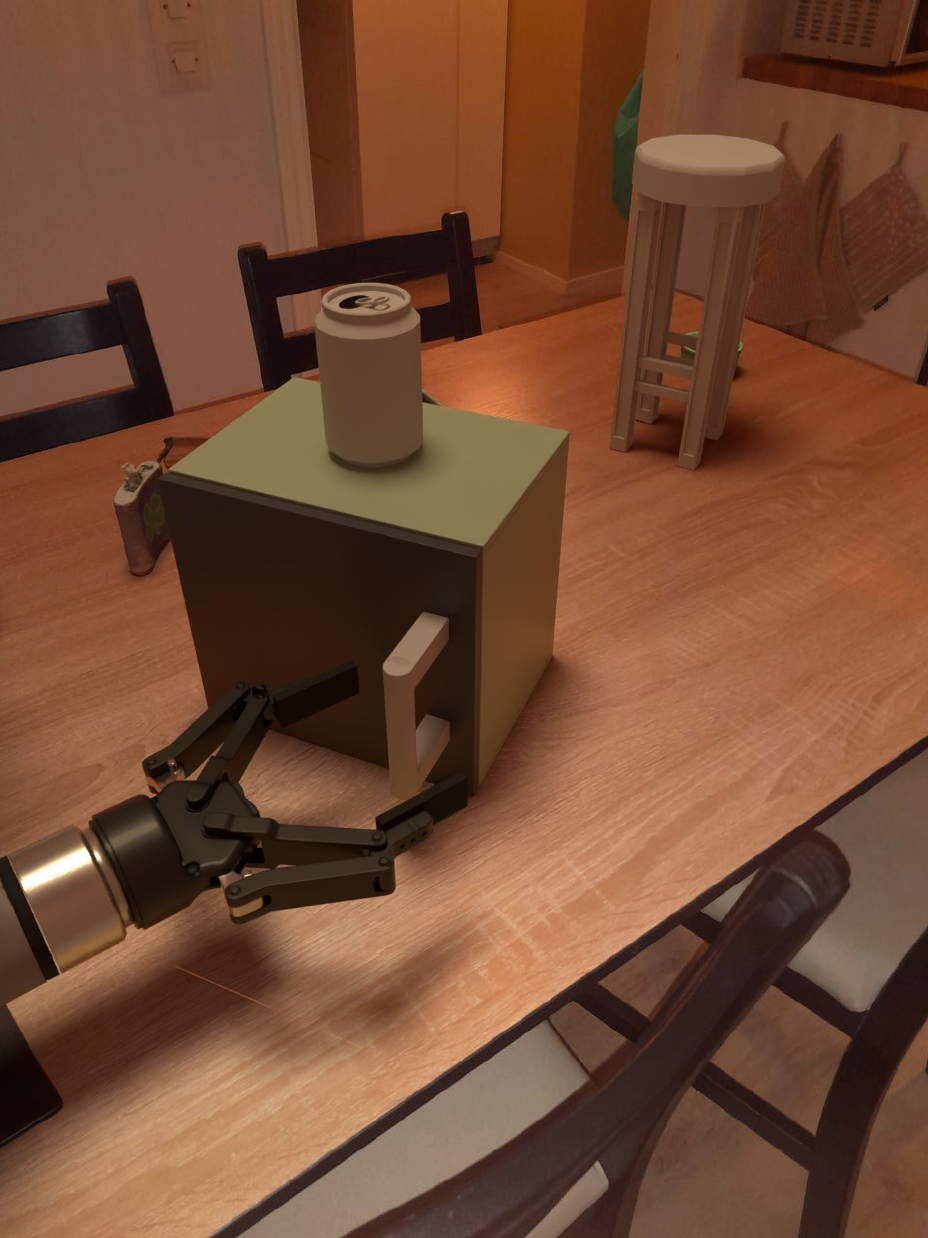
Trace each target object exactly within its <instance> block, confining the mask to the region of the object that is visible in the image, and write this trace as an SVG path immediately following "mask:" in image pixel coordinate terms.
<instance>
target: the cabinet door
mask: <svg viewBox="0 0 928 1238" xmlns="http://www.w3.org/2000/svg"><path fill="white" fill-rule="evenodd" d="M158 483H159V488H160V492H161V497H162V501H163V506H164V510H165V515H166V519H167V524H168V529H169V533H170V538H171V541H170V542H171V546H172V550H173V551H172V552H173V555H174V560H175V565H176V569H177V573H178V578H179V584H180V586H181V591H182V596H183V600H184V605H185V609H186V615H187V618H188V623H189V627H190V632H191V633H190V634H191V636H192V642H193V646H194V651H195V655H196V661H197V664H198V668H199V673H200V677H201V683H202V687H203V692H204V696H205V700H206V701H205V702H206V705H207V709H208V708H209V707H210V706H211V705H212V704H214V703H215V702H216V701H217V700H218V699H219V698H220V697H221V696H222V695H223V694H224V693H225V692H226V691H227V690H228V689H229V688H230V687H231V686H232V685H234V684H235V683H236V682H239V681H245V682H247V683H248V684H249V686H250V689H251V687H252V686H253V685H255V684H257V683H264V684H266V685H267V687H268V692H271V691H273V690H275V689H278V688H280V687H282V686H284V685H287V684H289V683H292V682H293V681H296V680H298V679H303V678H307V680H309V679H311V678H313V677H315V676H318V675H320V674H322V673H324V672H327V671H329V670H331V669H333V668H336V667H338V666H340V665H342V664H345V663H347V662H349V661H351V660H352V661H353V662H354V663H355V664H356V665H357V667H358V678H359V690H360V693H359V694H356V695H354V696H352V697H350V698H348V699H346V700H343V701H341V702H339V703H337V704H335V705H333V706H331V707H328V708H326V709H324V710H322V711H320V712H318V713H315V714H313V715H311V716H309V717H307V718H305V719H303V720H300V721H298V722H296V723H294V724H292V725H290V726H287V727H285V728H283V729H281V727H280V726H279V725H278V724H277V720H276V717H275V718H273V723H272V724H271V726H270V728H269V730H272V731H275V732H278V733H280V734H284V735H287V736H290V737H293V738H296V739H299V740H302V741H305V742H308V743H311V744H314V745H317V746H319V747H323V748H326V749H330V750H332V751H335V752H339V753H340V754H345V755H347V756H350V757H354V758H356V759H360V760H363V761H365V762H368V763H371V764H374V765H377V766H381V767H383V768H387V769H388V770H389V784H390V786H389V787H390V793H391V794H392V796H393V797H395V798H396V799H398V800H408V799H410V798H412V797H414V796H416V795H417V793H418V792H419V790H420V788H421V787H422V785H423V783H424V782H429V783H432V784H434V785H436V784H438V783H440V782H442V781H443V780H445V779H447V778H449V777H451V776H453V775H455V774H456V773H458V772H460V771H461V772H462V773H463V774H464V775H465V776H466V777H467V778H468V796H470V797H474V796H475V795H476V792H477V790H478V789H479V786H478V755H479V695H480V635H481V575H482V550H480V549H476V548H472V547H468V546H463V545H459V544H455V543H451V542H447V541H443V540H439V539H435V538H431V537H427V536H422V535H418V534H414V533H410V532H406V531H402V530H398V529H394V528H390V527H386V526H382V525H377V524H373V523H369V522H365V521H361V520H357V519H353V518H349V517H345V516H341V515H337V514H332V513H328V512H324V511H320V510H316V509H312V508H308V507H304V506H300V505H296V504H292V503H287V502H283V501H279V500H275V499H271V498H267V497H263V496H259V495H255V494H251V493H247V492H242V491H238V490H234V489H230V488H226V487H222V486H218V485H214V484H210V483H206V482H202V481H197V480H193V479H189V478H185V477H181V476H177V475H173V474H169V472H165V473H163V475H162V476H161V477H159V478H158Z"/></svg>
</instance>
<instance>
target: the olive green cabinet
mask: <svg viewBox="0 0 928 1238" xmlns="http://www.w3.org/2000/svg"><path fill="white" fill-rule="evenodd" d="M422 406H423V443H422V444H421V446H420V447H419V448H418V449H417V450H416V451H415V452H413V453H412V454H411V455H410V457H409V458H407V459H406V460H404V461H402V462H400V463H397V464H394V465H392V466H386V467H380V468H367V467H360V466H355V465H352V464H349V463H347V462H345V461H344V460H342V459H341V458H340V457H339V456H337V455H336V454H334V453H333V452H332V451H330V450H329V448H328V446H327V444H326V439H325V429H324V418H323V408H322V398H321V387H320V381H316V380H312V379H307V378H306V379H305V378H301V377H296V376H294V377H292V378H291V379H290V380H288V381H287V382H285V383H284V384H282V385H281V386H280V387H278V388H277V389H275V390H274V391H273V392H271V393H270V394H269V395H267V396H266V397H265V398H263V399H262V400H261V401H259V402H258V403H256V404H255V405H254V406H252V407H251V408H250V409H248V410H247V411H245V412H244V413H243V414H242V415H240V416H239V417H237V418H236V419H234V420H233V421H232V422H230V423H229V424H227V425H226V426H225V427H224V428H222V429H221V430H220V431H218V432H217V433H216V434H214V435H213V436H211V437H212V438H210V439H209V440H207V441H206V442H205V443H203V444H202V445H201V446H199V447H198V448H196V449H195V450H194V451H192V452H191V453H190V454H188V455H187V456H186V457H184V458H183V459H181V460H180V461H179V462H177V463H176V464H175V465H173V466H172V467H170V468H169V469H167V473H169V474H173V475H177V476H181V477H185V478H189V479H193V480H197V481H202V482H206V483H210V484H214V485H218V486H222V487H226V488H230V489H234V490H238V491H242V492H247V493H251V494H255V495H259V496H263V497H267V498H271V499H275V500H279V501H283V502H287V503H292V504H296V505H300V506H304V507H308V508H312V509H316V510H320V511H324V512H328V513H332V514H337V515H341V516H345V517H349V518H353V519H357V520H361V521H365V522H369V523H373V524H377V525H382V526H386V527H390V528H394V529H398V530H402V531H406V532H410V533H414V534H418V535H422V536H427V537H431V538H435V539H439V540H443V541H447V542H451V543H455V544H459V545H463V546H468V547H472V548H476V549H480V550H482V575H481V635H480V695H479V755H478V787H480V786H481V784H482V783H483V780H484V779H485V778H486V775H487V774H488V772H489V771H490V768H491V766H492V765H493V763H494V761H495V760H496V758H497V756H498V754H499V753H500V750H501V749H502V747H503V745H504V743H505V742H506V740H507V739H508V736H509V735H510V733H511V731H512V729H513V728H514V726H515V724H516V722H517V720H518V718H519V717H520V715H521V713H522V711H523V710H524V708H525V706H526V704H527V703H528V701H529V699H530V697H531V695H532V694H533V691H534V690H535V688H536V686H537V685H538V683H539V681H540V679H541V677H542V676H543V674H544V672H545V671H546V669H547V667H548V665H549V663H550V661H551V660H552V659H553V656H554V655H553V654H554V640H555V630H556V617H557V616H556V614H557V602H558V591H559V590H558V589H559V577H560V563H561V551H562V539H563V525H564V512H565V500H566V498H565V497H566V488H567V487H566V485H567V475H568V474H567V472H568V461H569V460H568V459H569V447H570V436H571V435H570V434H571V432H570V431H569V430H565V429H559V428H555V427H549V426H544V425H540V424H535V423H530V422H525V421H519V420H514V419H509V418H504V417H499V416H494V415H488V414H483V413H479V412H473V411H469V410H463V409H459V408H453V407H448V406H445V405H444V406H445V407H444V406H439V405H433V404H428V403H423V402H422Z"/></svg>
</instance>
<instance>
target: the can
mask: <svg viewBox="0 0 928 1238" xmlns="http://www.w3.org/2000/svg"><path fill="white" fill-rule="evenodd" d="M411 299H412V295H410V293H409V292H408V291H407V290H406V289H403V288H401V287H400V286H398V285H397V286H396V285H392V284H390V283H389V284H388V283H382V282H381V283H380V282H357V283H349V284H345V285H341V286H337V287H335V288H333V289H330V290H329V291H327V292H326V293H325V294H324V295H322V298H321V300H320V301H321V305H322V306H323V307H322V308H321V309H320V310H319V311H318V313H317V314H316V315H315V318H314V322H313V325H314V333H315V344H316V356H317V365H318V376H319V382H320V387H321V398H322V408H323V418H324V429H325V439H326V444H327V446H328V448H329V450H330V451H332V452H333V453H334V454H336V455H337V456H339V457H340V458H341V459H342V460H344V461H345V462H347V463H349V464H352V465H355V466H360V467H367V468H380V467H386V466H392V465H394V464H397V463H400V462H402V461H404V460H406V459H407V458H409V457H410V455H411V454H412V453H413V452H415V451H416V450H417V449H418V448H419V447H420V446H421V444H422V443H423V406H422V388H423V377H422V376H423V374H422V373H423V371H422V336H421V335H422V334H421V333H422V332H421V315H420V314H419V312H418V311H417V310H416V309H415V308H414V307H413V305H411V301H412V300H411Z"/></svg>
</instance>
